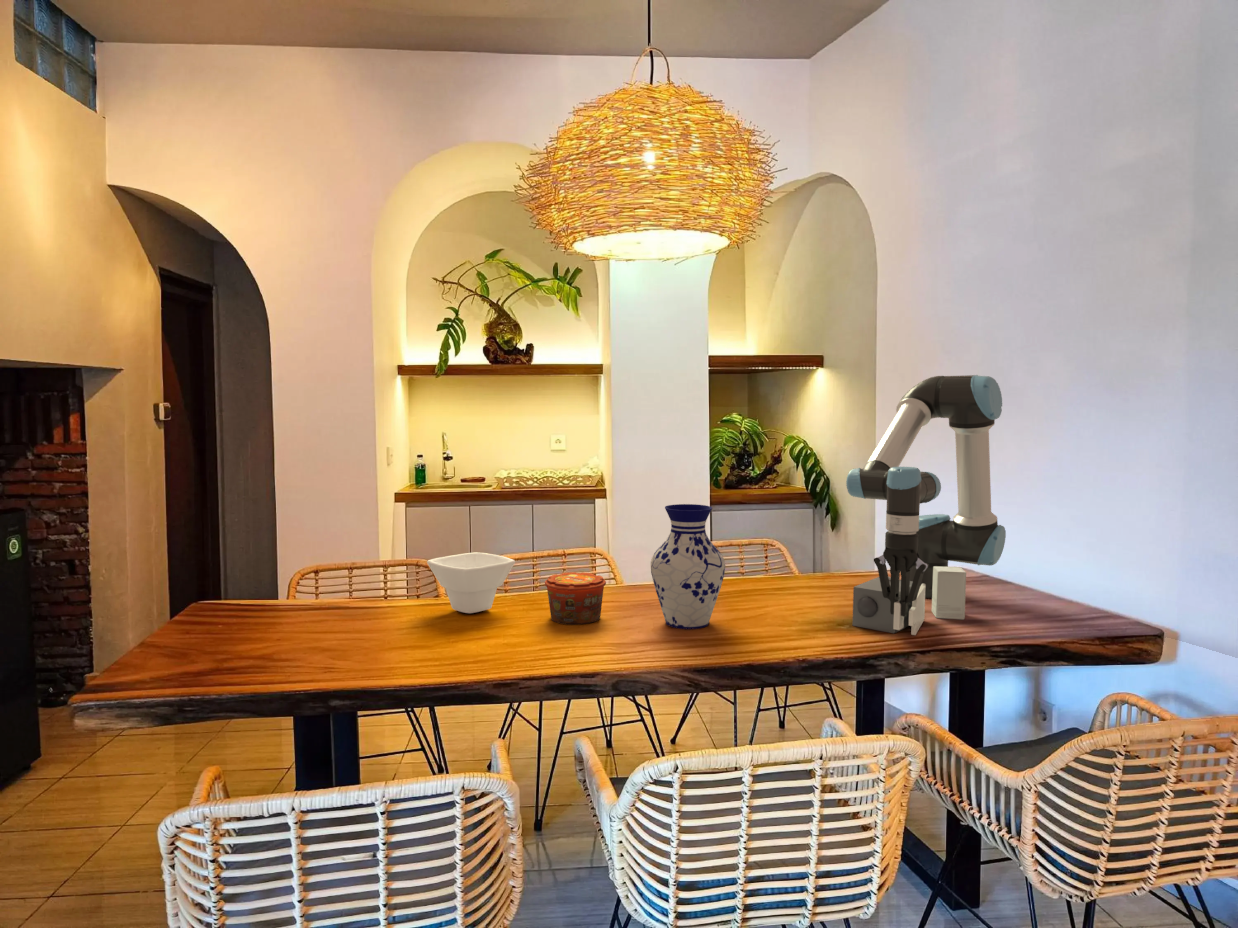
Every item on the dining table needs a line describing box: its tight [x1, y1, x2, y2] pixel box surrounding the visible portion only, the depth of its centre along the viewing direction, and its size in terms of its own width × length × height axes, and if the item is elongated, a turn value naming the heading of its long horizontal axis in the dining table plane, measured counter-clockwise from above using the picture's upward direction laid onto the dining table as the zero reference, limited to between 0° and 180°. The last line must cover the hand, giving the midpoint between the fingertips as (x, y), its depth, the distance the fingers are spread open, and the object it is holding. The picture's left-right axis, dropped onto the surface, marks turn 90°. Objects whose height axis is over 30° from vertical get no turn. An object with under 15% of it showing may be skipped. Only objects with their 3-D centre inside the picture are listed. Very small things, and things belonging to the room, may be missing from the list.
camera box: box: [852, 575, 913, 634], centre depth 220 cm, size 17×11×11 cm, turn 140°
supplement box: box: [931, 566, 967, 620], centre depth 228 cm, size 7×7×13 cm
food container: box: [544, 571, 607, 626], centre depth 224 cm, size 16×16×11 cm
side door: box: [908, 584, 926, 636], centre depth 213 cm, size 22×1×10 cm, turn 153°
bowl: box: [426, 551, 516, 614], centre depth 230 cm, size 19×19×14 cm
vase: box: [650, 503, 726, 630], centre depth 218 cm, size 19×19×30 cm
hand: (898, 628), depth 207 cm, fingers closed
